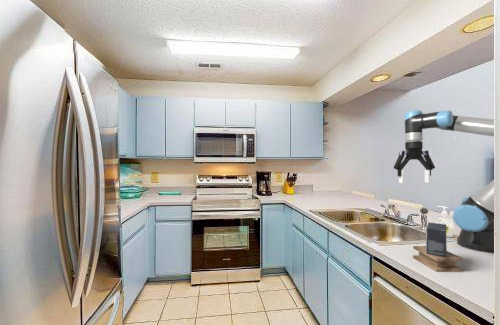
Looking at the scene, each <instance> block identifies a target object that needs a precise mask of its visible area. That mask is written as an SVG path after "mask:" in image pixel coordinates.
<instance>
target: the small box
mask: <svg viewBox="0 0 500 325" xmlns="http://www.w3.org/2000/svg"><path fill="white" fill-rule="evenodd" d="M425 233H426V234H425V235H426V236H425V239H426V241H425V242H426V243H425V244H426V245H425V246H426V251H427V254H431V255H436V256H441V257H446V252H447V251H448V250H447V248H448V247H447V224H446V223H436V222H435V223H434V222H428V223H427V226H426V232H425Z"/></svg>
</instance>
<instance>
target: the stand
mask: <svg viewBox="0 0 500 325" xmlns="http://www.w3.org/2000/svg"><path fill="white" fill-rule="evenodd" d="M412 248H413V250H415V251H417V252H418V255H415V254H414V255H412V258H413V259H414V260H416V261H418V262H419V263H421V264H423V265H425V266H426V267H428V268H429V269H431V270H433V271H434V272H436V273H444V272H446V273H448V272H454V273H455V272H457V273H458V272H460V273H462V272H463V270H464V268H462V267H460V266H458V265H456V262H464V258H463V257H461V256H459V255H456V254H454V253H452V252H450V251H449V250H447V252H446V257H441V256H436V255H431V254H427V251H426V245H413V247H412Z"/></svg>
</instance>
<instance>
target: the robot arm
mask: <svg viewBox="0 0 500 325" xmlns="http://www.w3.org/2000/svg"><path fill="white" fill-rule="evenodd" d="M494 120H495V119H494V118H493V119H491V118H482V117H481V118H480V117H472V116H462V115H461V116H460V115H454V114H453V112H452V111H451V110H440V111H434V112H433V111H432V112H428V113H423V112H422V110H410V111H407V112H405V113H404V138H405V139H404V141H405V142H404V146H405V147H404V148H405V150H399V153H398V154H399V155H398V157H397V159H396V161H395V163H394V165H393V169H394V170H396V171H397V177H398V184H399V183H400V184H404V183H405V170H404V168H405V167H406V165H407V164H408V163H409V162H410V161H413V160H416V161H419V163H420V164H421V166H423V167H424V168H425V169H424V172H423V173H424V183H428V184H429V183H431V177H432V170H433V169H436V167H435V164H434V161H433V160H432V158H431V156H430V152H429V150H423V146H424V145H423V143H424V142H423V140H424V139H423V130H425V129H426V130H427V129H439V130H441V131H452V132H457V133H458V132H460V133H467V134H474V135H480V136H481V135H482V136H488V137H494ZM405 155H406V156H405ZM452 219H453V221H454V223H455V224H456V226H458V227H459V228H460V232H459V235H458V236H457V238H456V244H457V245H459V246H461V247H464V248H466V249H469V250H474V251H479V252H486V253H495V252H494V179H493V180H491V181H490V183H488V184H487V185H486V186H485V187H484V188H483V189H482V190H481V191H480V192H478V194H472V195H469V197H463V198H462V200H461V204H460V205H459V206H456V207H455V209H454V211H453V213H452Z"/></svg>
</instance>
